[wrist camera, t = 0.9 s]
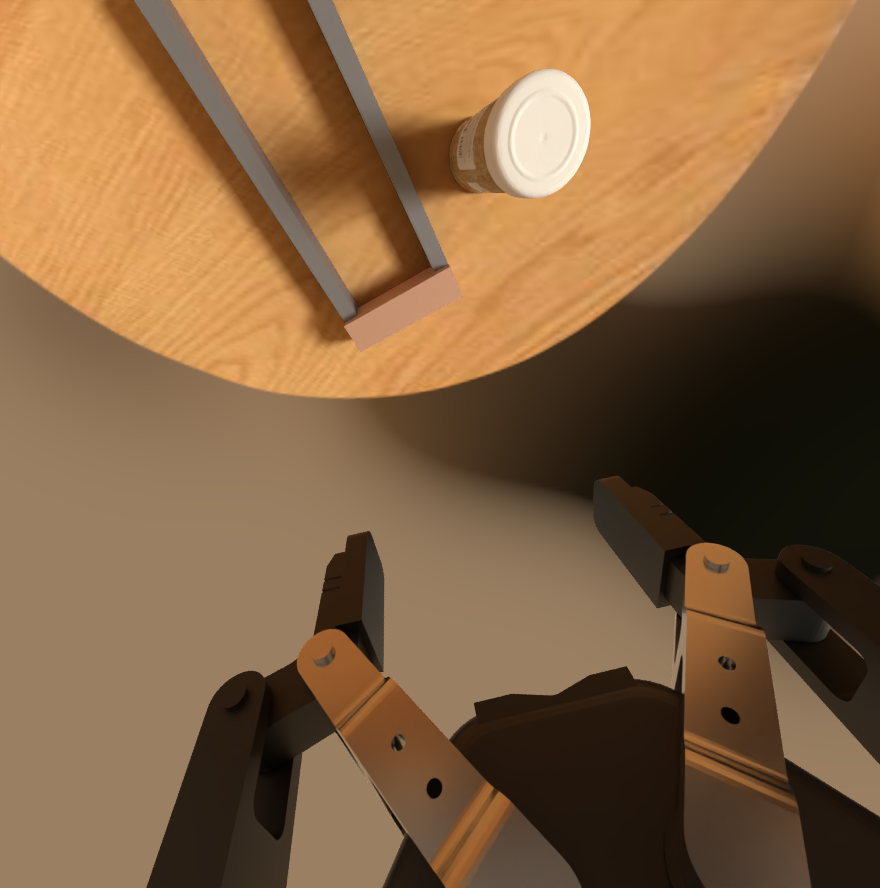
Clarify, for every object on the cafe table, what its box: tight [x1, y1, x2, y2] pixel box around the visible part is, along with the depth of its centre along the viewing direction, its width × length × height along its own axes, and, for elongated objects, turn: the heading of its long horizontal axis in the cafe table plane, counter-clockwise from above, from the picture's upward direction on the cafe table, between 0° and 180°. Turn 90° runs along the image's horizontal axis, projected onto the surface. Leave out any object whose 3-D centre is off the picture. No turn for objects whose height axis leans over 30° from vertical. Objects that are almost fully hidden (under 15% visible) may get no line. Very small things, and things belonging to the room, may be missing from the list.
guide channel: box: [134, 0, 463, 352], centre depth 26 cm, size 22×9×4 cm, turn 26°
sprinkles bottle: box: [449, 69, 590, 199], centre depth 22 cm, size 5×5×14 cm
